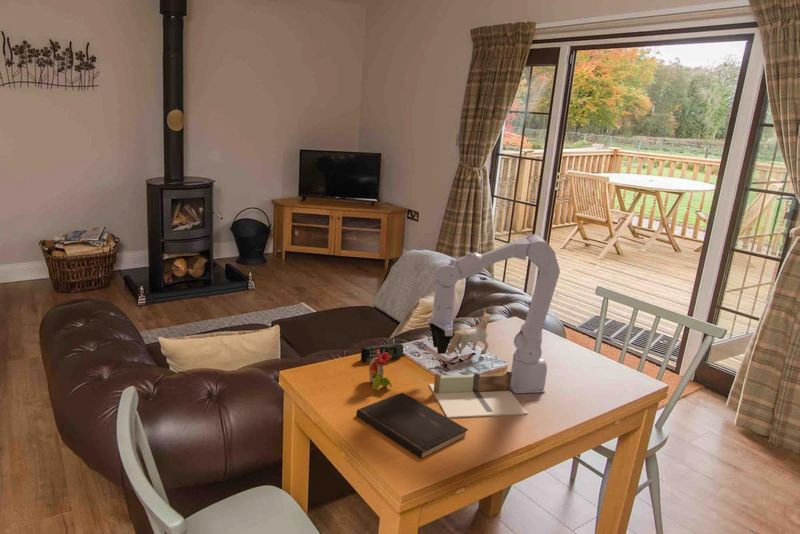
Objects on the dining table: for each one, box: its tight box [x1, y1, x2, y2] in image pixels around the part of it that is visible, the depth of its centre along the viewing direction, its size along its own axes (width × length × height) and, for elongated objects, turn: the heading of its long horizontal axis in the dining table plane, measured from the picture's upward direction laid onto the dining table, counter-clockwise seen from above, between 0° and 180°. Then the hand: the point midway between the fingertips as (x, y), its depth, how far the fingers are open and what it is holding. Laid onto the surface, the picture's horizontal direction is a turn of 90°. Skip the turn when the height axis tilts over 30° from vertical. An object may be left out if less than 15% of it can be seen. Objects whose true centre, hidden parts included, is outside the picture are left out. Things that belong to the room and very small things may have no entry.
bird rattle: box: [368, 349, 393, 391], centre depth 161 cm, size 6×11×9 cm
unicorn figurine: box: [446, 307, 491, 355], centre depth 185 cm, size 7×20×13 cm, turn 138°
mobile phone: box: [360, 342, 405, 363], centre depth 179 cm, size 5×3×15 cm
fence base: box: [472, 371, 512, 392], centre depth 163 cm, size 11×2×5 cm, turn 102°
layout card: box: [428, 383, 529, 419], centre depth 159 cm, size 22×18×1 cm
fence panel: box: [433, 372, 474, 393], centre depth 160 cm, size 11×2×5 cm, turn 102°
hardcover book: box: [355, 392, 469, 459], centre depth 143 cm, size 16×23×2 cm
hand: (439, 350), depth 166 cm, fingers open, 4 cm apart
